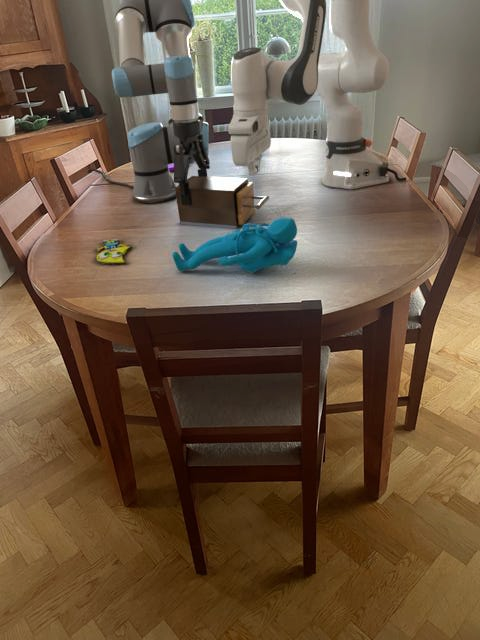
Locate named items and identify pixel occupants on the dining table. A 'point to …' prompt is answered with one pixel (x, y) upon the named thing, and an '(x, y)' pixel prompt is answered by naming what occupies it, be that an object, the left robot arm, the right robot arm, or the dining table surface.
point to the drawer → (247, 202)
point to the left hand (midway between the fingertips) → (196, 197)
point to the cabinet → (211, 201)
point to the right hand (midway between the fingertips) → (254, 173)
